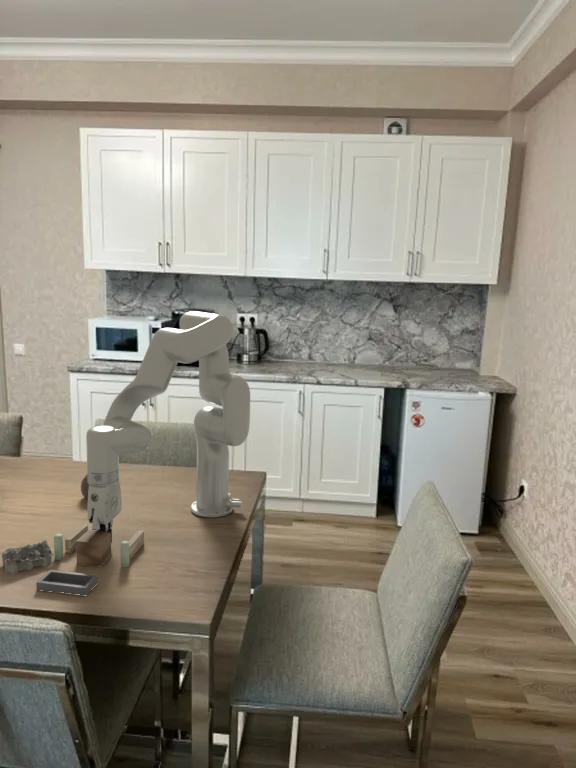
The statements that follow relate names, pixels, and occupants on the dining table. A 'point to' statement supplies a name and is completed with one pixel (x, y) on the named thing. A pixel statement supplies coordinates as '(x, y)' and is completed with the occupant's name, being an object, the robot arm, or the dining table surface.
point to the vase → (85, 487)
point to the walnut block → (93, 548)
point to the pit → (67, 582)
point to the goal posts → (59, 550)
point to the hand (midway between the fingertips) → (104, 543)
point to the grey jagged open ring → (15, 555)
